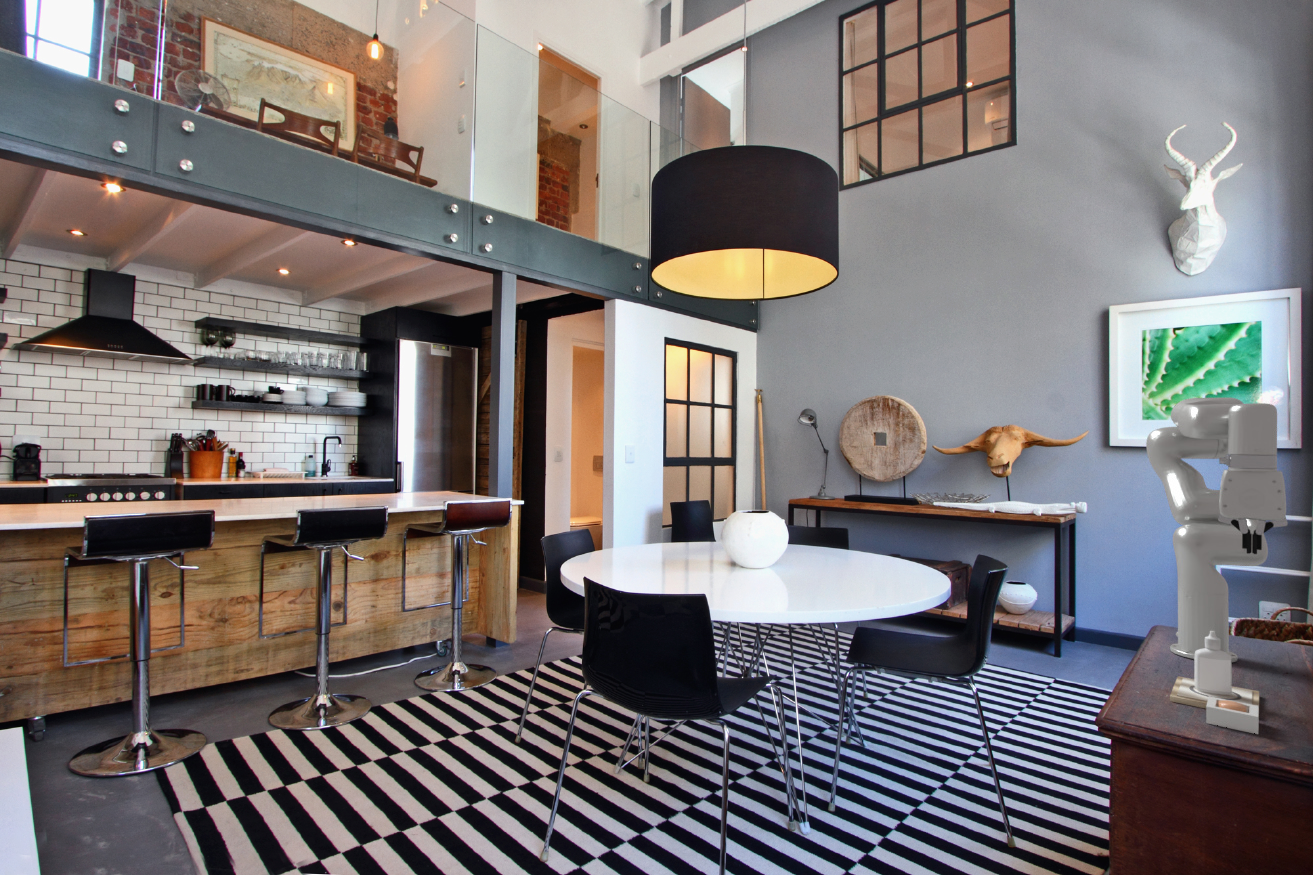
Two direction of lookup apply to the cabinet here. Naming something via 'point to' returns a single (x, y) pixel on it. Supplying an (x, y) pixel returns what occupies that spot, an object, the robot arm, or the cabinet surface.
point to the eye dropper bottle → (1213, 668)
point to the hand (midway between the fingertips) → (1251, 552)
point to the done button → (1232, 705)
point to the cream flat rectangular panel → (1208, 694)
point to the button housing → (1232, 716)
